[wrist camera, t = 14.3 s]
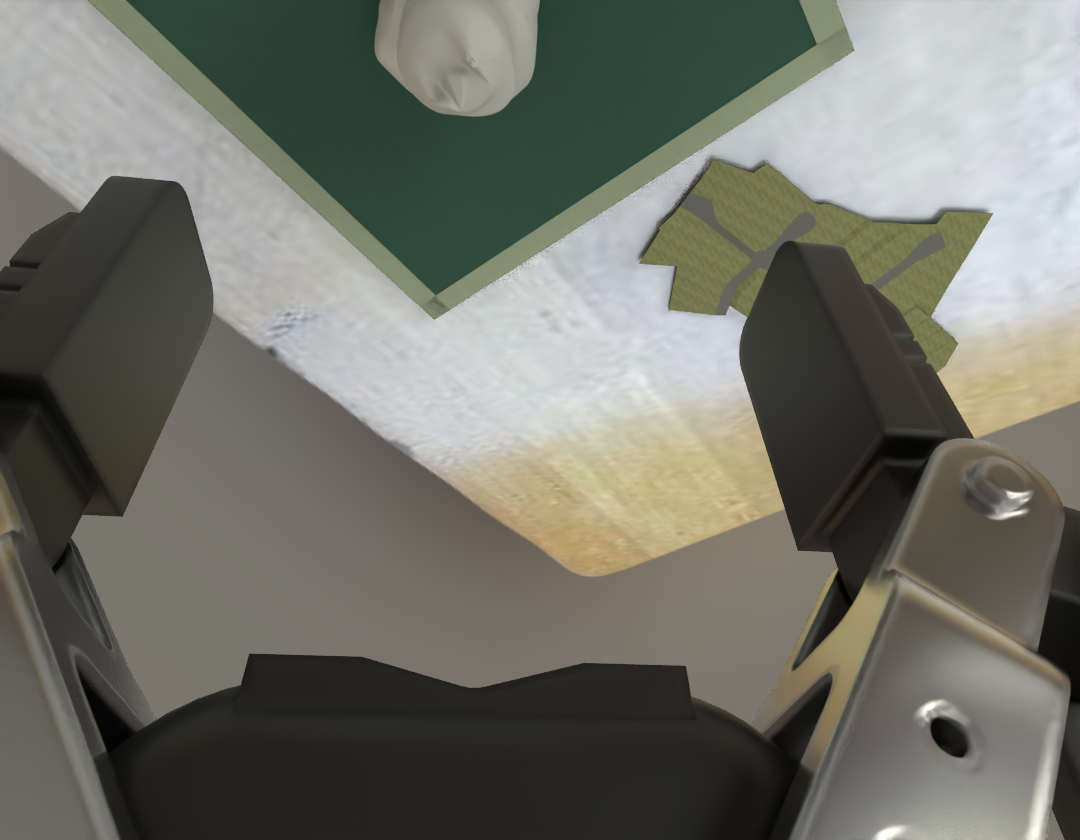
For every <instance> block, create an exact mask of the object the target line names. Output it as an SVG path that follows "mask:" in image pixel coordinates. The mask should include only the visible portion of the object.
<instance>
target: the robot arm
mask: <svg viewBox="0 0 1080 840" xmlns="http://www.w3.org/2000/svg"><path fill="white" fill-rule="evenodd" d="M212 314H213V287H212V282H211V278H210V274H209V271H208V267H207V263H206V260H205V256H204V253H203V249H202V246H201V242H200V238H199V235H198V231H197V228H196V224H195V221H194V217H193V213H192V210H191V206H190V203H189V200H188V197H187V194H186V192H185V190H184V189H183V187H182V186H181V185H180V184H179V183H177V182H174V181H164V180H154V179H143V178H132V177H122V176H111V177H109V178H108V179H107V180H106V181H105V182H104V183H103V185H102V186H101V187H100V188H99V190H98V191H97V192H96V194H95V195H94V196H93V197H92V199H91V200H90V201H89V203H88V204H87V205H86V206H85V208H84V209H83V210H82V212H81V213H74V212H69V213H67V214H65V215H63V216H62V217H60V218H58V219H57V220H55V221H53V222H51V223H50V224H48V225H46V226H45V227H43V228H41V229H39V230H38V231H36V232H34V233H33V234H31V236H30V237H29V238H28V239H27V240H26V242H25V243H24V244H23V245H22V247H21V248H20V249H19V250H18V251H17V252H16V254H15V255H14V256H13V257H12V258H11V260H10V267H6V266H5V267H4V268H3V269H2V270H1V272H0V840H1047V834H1048V828H1049V821H1050V816H1051V810H1053V813H1054V815H1055V817H1056V820H1057V822H1058V824H1059V827H1060V830H1061V832H1062V834H1063V837H1064V839H1065V840H1080V511H1077V510H1074V509H1071V508H1068V507H1065V506H1063V505H1062V502H1061V500H1060V497H1059V496H1058V494H1057V492H1056V491H1055V489H1054V488H1053V486H1052V485H1051V484H1050V483H1049V481H1048V480H1047V479H1046V478H1045V477H1044V476H1043V475H1042V474H1041V473H1040V472H1039V471H1038V470H1037V469H1036V468H1035V467H1033V466H1032V465H1031V464H1030V463H1028V462H1027V461H1025V460H1024V459H1022V458H1021V457H1019V456H1018V455H1016V454H1014V453H1013V452H1011V451H1009V450H1007V449H1005V448H1002V447H1000V446H998V445H995V444H992V443H989V442H986V441H982V440H977V439H974V437H973V435H972V434H971V432H970V430H969V429H968V427H967V425H966V423H965V422H964V420H963V418H962V417H961V415H960V413H959V411H958V410H957V408H956V406H955V405H954V403H953V401H952V399H951V398H950V396H949V394H948V392H947V391H946V389H945V387H944V386H943V384H942V382H941V380H940V379H939V377H938V375H937V374H936V372H935V370H934V368H933V367H932V365H931V364H929V363H926V360H927V356H926V355H925V353H924V351H923V349H922V348H921V346H920V344H919V343H918V341H914V334H913V332H912V331H911V329H910V327H909V325H908V324H907V322H906V320H905V319H904V317H903V315H902V313H901V312H900V310H899V309H898V308H897V307H896V306H895V305H894V304H893V303H892V302H891V301H889V300H888V299H887V298H886V297H885V296H884V295H883V294H882V293H880V292H879V291H878V290H877V289H876V288H875V287H874V286H873V285H872V284H864V282H863V280H862V278H861V276H860V274H859V273H858V271H857V269H856V267H855V265H854V264H853V262H852V260H851V258H850V256H849V255H848V253H847V251H846V250H845V248H843V247H842V246H840V245H832V244H821V243H810V242H800V241H786V242H784V243H783V244H782V245H781V246H780V247H779V249H778V250H777V252H776V254H775V256H774V258H773V260H772V262H771V265H770V267H769V269H768V272H767V274H766V276H765V279H764V281H763V283H762V286H761V288H760V290H759V292H758V295H757V297H756V299H755V302H754V304H753V306H752V309H751V311H750V313H749V316H748V318H747V320H746V322H745V325H744V328H743V331H742V335H741V340H740V350H739V357H740V366H741V370H742V373H743V376H744V379H745V382H746V386H747V389H748V392H749V395H750V398H751V402H752V405H753V408H754V411H755V414H756V418H757V421H758V424H759V427H760V430H761V434H762V437H763V440H764V443H765V446H766V450H767V453H768V456H769V459H770V462H771V465H772V469H773V472H774V475H775V478H776V481H777V485H778V488H779V491H780V494H781V497H782V501H783V504H784V507H785V510H786V513H787V517H788V520H789V523H790V526H791V529H792V533H793V536H794V539H795V542H796V545H797V549H798V551H819V552H833V555H834V558H835V561H836V564H837V567H836V568H835V569H834V571H833V572H832V573H831V574H830V576H829V577H828V579H827V580H826V582H825V584H824V586H823V588H822V590H821V592H820V594H819V596H818V598H817V600H816V603H815V604H814V607H813V609H812V611H811V613H810V615H809V617H808V619H807V621H806V623H805V625H804V627H803V629H802V631H801V633H800V635H799V637H798V639H797V641H796V643H795V645H794V647H793V649H792V652H791V653H790V656H789V657H788V659H787V661H786V663H785V666H784V668H783V670H782V672H781V674H780V676H779V678H778V680H777V682H776V683H775V685H774V687H773V688H772V690H771V692H770V694H769V695H768V697H767V698H766V699H765V701H764V702H763V704H762V705H761V706H760V708H759V709H758V711H757V712H756V714H755V716H754V717H753V719H752V720H751V722H750V723H749V724H748V723H746V722H744V721H743V720H741V719H739V718H737V717H736V716H734V715H732V714H730V713H729V712H727V711H725V710H723V709H721V708H719V707H716V706H714V705H712V704H709V703H707V702H705V701H703V700H700V699H697V698H694V697H691V694H690V688H689V682H688V676H687V670H686V666H668V665H634V664H630V665H629V664H598V663H582V664H578V665H574V666H570V667H566V668H561V669H557V670H553V671H549V672H545V673H541V674H536V675H532V676H529V677H524V678H520V679H516V680H511V681H507V682H503V683H499V684H495V685H491V686H487V687H482V688H467V687H463V686H459V685H456V684H452V683H449V682H445V681H442V680H439V679H435V678H432V677H428V676H425V675H422V674H418V673H415V672H411V671H408V670H405V669H401V668H398V667H395V666H391V665H388V664H384V663H381V662H378V661H374V660H371V659H367V658H363V657H348V656H313V655H277V654H276V655H275V654H249V657H248V661H247V664H246V668H245V672H244V676H243V679H242V684H241V685H240V686H236V687H232V688H228V689H224V690H222V691H219V692H216V693H213V694H210V695H208V696H205V697H202V698H199V699H196V700H194V701H192V702H190V703H188V704H186V705H184V706H182V707H180V708H178V709H175V710H173V711H171V712H169V713H167V714H165V715H164V716H162V717H160V718H159V719H157V718H156V717H155V714H154V712H153V710H152V709H151V707H150V705H149V703H148V701H147V699H146V697H145V696H144V694H143V692H142V691H141V689H140V687H139V686H138V684H137V682H136V680H135V679H134V677H133V675H132V673H131V671H130V669H129V667H128V665H127V662H126V660H125V658H124V656H123V653H122V651H121V649H120V646H119V644H118V642H117V639H116V637H115V635H114V632H113V630H112V627H111V625H110V623H109V620H108V618H107V616H106V613H105V611H104V609H103V606H102V604H101V602H100V599H99V597H98V595H97V592H96V590H95V588H94V585H93V583H92V580H91V578H90V576H89V573H88V571H87V569H86V566H85V564H84V562H83V559H82V557H81V555H80V552H79V550H78V548H77V546H76V545H75V543H74V541H73V540H72V539H71V536H72V534H73V532H74V530H75V528H76V526H77V524H78V522H79V520H80V518H81V516H82V515H100V516H123V514H124V512H125V510H126V508H127V506H128V503H129V501H130V499H131V497H132V495H133V492H134V490H135V488H136V486H137V483H138V481H139V479H140V477H141V475H142V473H143V471H144V468H145V466H146V464H147V462H148V460H149V457H150V455H151V453H152V451H153V449H154V446H155V444H156V442H157V440H158V438H159V436H160V433H161V431H162V429H163V427H164V425H165V422H166V420H167V418H168V416H169V414H170V412H171V409H172V407H173V405H174V403H175V400H176V398H177V396H178V394H179V392H180V390H181V387H182V385H183V383H184V381H185V379H186V376H187V374H188V372H189V370H190V367H191V366H192V363H193V361H194V359H195V357H196V355H197V352H198V350H199V348H200V346H201V344H202V341H203V339H204V337H205V335H206V333H207V331H208V328H209V326H210V322H211V319H212Z"/></svg>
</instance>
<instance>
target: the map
mask: <svg viewBox="0 0 1080 840" xmlns="http://www.w3.org/2000/svg"><path fill="white" fill-rule="evenodd" d="M992 215H993V213H968V212H946V213H945V215H944V216H943V217H942V218H941V219H940V220H939V222H938V223H937V224H903V223H890V222H872V221H870V220H868V219H866V218H864V217H861V216H859V215H856V214H854V213H851V212H849V211H846V210H844V209H841V208H839V207H837V206H834V205H831V204H819V205H817V204H816V203H814V202H813V201H812V200H811V199H809V198H808V197H807V196H806V195H804V194H803V193H802V192H801V191H800V190H799V189H797V188H796V187H795V186H794V185H793V184H792V183H791V182H790V181H788V180H787V179H786V178H785V177H784V176H783V175H781V174H780V173H779V172H778V171H777V170H775V169H774V168H773V167H772V166H770V165H769V164H766V165H765V166H763V167H762V168H760V169H759V170H757V171H755V172H754V173H752V172H749V171H746V170H742V169H739V168H736V167H733V166H730V165H727V164H724V163H721V162H718V161H715V160H713V162H712V163H711V165H710V167H709V169H708V170H707V172H706V173H705V175H704V176H703V177H702V178H701V180H700V181H699V182H698V183H697V185H696V186H695V187H694V188H693V190H692V191H691V192H690V194H689V195H688V196H687V197H686V199H685V200H684V201H683V202H682V204H681V205H680V206H679V208H678V209H677V210H676V212H675V213H674V214H673V215H672V216H671V217H670V218H669V219H668V220H667V221H666V222H665V223H663V224H662V225H661V226H660V227H659V229H660V231H659V233H658V234H657V236H656V238H655V239H654V241H653V242H652V244H651V246H650V247H649V249H648V250H647V252H646V253H645V255H644V257H643V258H642V260H641V261H640V263H639V264H651V265H667V266H677V271H676V275H675V280H674V285H673V290H672V295H671V301H670V306H669V310H675V311H684V312H693V313H702V314H710V315H726V312H727V310H728V307H729V306H731V307H733V308H735V309H736V310H738V311H739V312H741V313H742V314H744V315H745V316H747V317H748V316H749V313H750V311H751V309H752V306H753V304H754V302H755V299H756V297H757V295H758V292H759V290H760V288H761V286H762V283H763V281H764V279H765V276H766V274H767V272H768V269H769V267H770V265H771V262H772V260H773V258H774V256H775V254H776V252H777V250H778V249H779V247H780V246H781V245H782V244H783V243H784V242H786V241H800V242H810V243H821V244H832V245H840V246H842V247H843V248H845V250H846V251H847V253H848V255H849V256H850V258H851V260H852V262H853V264H854V265H855V267H856V269H857V271H858V273H859V274H860V276H861V278H862V280H863V282H864V284H872V285H873V286H874V287H875V288H876V289H877V290H878V291H879V292H880V293H882V294H883V295H884V296H885V297H886V298H887V299H888V300H889V301H891V302H892V303H893V304H894V305H895V306H896V307H897V308H898V309H899V310H900V312H901V313H902V315H903V317H904V319H905V320H906V322H907V324H908V325H909V327H910V329H911V331H912V332H913V334H914V341H918V343H919V344H920V346H921V348H922V349H923V351H924V353H925V355H926V356H927V360H926V363H929V364H931V365H932V367H933V368H934V370H935V372H936V373H937V372H938V371H939V370H941V369H942V368H943V367H944V366H945V365H946V363H947V362H948V360H949V358H950V357H951V355H952V353H953V351H954V350H955V348H956V346H957V345H958V343H957V342H956V341H955V339H954V338H953V337H951V336H950V335H949V334H948V333H947V332H946V331H944V330H943V329H942V328H941V327H940V326H939V325H938V324H937V323H936V322H934V321H933V320H932V319H931V318H930V317H931V315H932V314H933V312H934V310H935V308H936V307H937V305H938V303H939V301H940V300H941V298H942V296H943V294H944V292H945V291H946V289H947V287H948V286H949V284H950V283H951V281H952V279H953V278H954V276H955V275H956V273H957V271H958V270H959V268H960V267H961V265H962V263H963V262H964V260H965V259H966V257H967V255H968V254H969V252H970V251H971V249H972V248H973V246H974V244H975V243H976V241H977V239H978V238H979V236H980V234H981V233H982V231H983V229H984V228H985V226H986V224H987V223H988V221H989V220H990V218H991V216H992ZM917 306H918V307H919V308H918V307H917ZM922 310H923V311H924V312H925V313H926V314H925V313H924V312H923V311H922ZM929 316H930V317H929Z"/></svg>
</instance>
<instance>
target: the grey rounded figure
mask: <svg viewBox="0 0 1080 840" xmlns="http://www.w3.org/2000/svg"><path fill="white" fill-rule="evenodd" d="M539 4H540V0H380V4H379V17H378V23H377V27H376V33H375V54H376V57H377V59H378V61H379V62H380V63H381V64H382V65H383V66H384V67H385V68H386V69H387V70H388V71H389V72H390V73H391V74H392V75H393V76H394V77H395V78H396V79H397V80H398V81H399V82H400V83H401V84H402V85H403V86H404V87H405V88H406V89H407V90H408V91H410V92H411V93H412V94H413V95H414V96H415V97H416V98H417V99H418V100H419V101H420V102H422V103H423V104H424V105H425V106H427V107H428V108H430V109H431V110H434V111H436V112H438V113H442V114H450V115H461V116H473V117H476V116H487V115H491V114H494V113H497V112H499V111H501V110H502V109H503V108H504V107H506V106H507V104H508V103H509V102H510V100H511V99H512V98H514V97H515V96H516V95H517V94H518V93H520V92H521V91H522V90H523V89H524V88H525V87H526V86H527V85H528V83H529V82H530V80H531V78H532V75H533V72H534V67H535V57H536V45H537V27H538V22H537V15H538V10H539Z"/></svg>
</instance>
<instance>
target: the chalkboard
mask: <svg viewBox="0 0 1080 840" xmlns="http://www.w3.org/2000/svg"><path fill="white" fill-rule="evenodd" d="M88 1H89V2H90V3H91V4H92V5H93V6H94V7H95V8H96V9H97V10H98V11H99V12H101V13H102V14H103V15H104V16H105V17H106V18H107V19H108V20H109V21H110V22H111V23H113V24H114V25H115V26H116V27H117V28H118V29H119V30H120V31H121V32H122V33H123V34H124V35H126V36H127V37H128V38H129V39H130V40H131V41H132V42H133V43H134V44H135V45H136V46H137V47H139V48H140V49H141V50H142V51H143V52H144V53H145V54H146V55H147V56H148V57H149V58H151V59H152V60H153V61H154V62H155V63H156V64H157V65H158V66H159V67H160V68H161V69H162V70H164V71H165V72H166V73H167V74H168V75H169V76H170V77H171V78H172V79H173V80H174V81H175V82H177V83H178V84H179V85H180V86H181V87H182V88H183V89H184V90H185V91H186V92H187V93H189V94H190V95H191V96H192V97H193V98H194V99H195V100H196V101H197V102H198V103H199V104H200V105H202V106H203V107H204V108H205V109H206V110H207V111H208V112H209V113H210V114H211V115H212V116H214V117H215V118H216V119H217V120H218V121H219V122H220V123H221V124H222V125H223V126H224V127H225V128H227V129H228V130H229V131H230V132H231V133H232V134H233V135H234V136H235V137H236V138H237V139H238V140H240V141H241V142H242V143H243V144H244V145H245V146H246V147H247V148H248V149H249V150H250V151H252V152H253V153H254V154H255V155H256V156H257V157H258V158H259V159H260V160H261V161H262V162H263V163H265V164H266V165H267V166H268V167H269V168H270V169H271V170H272V171H273V172H274V173H275V174H276V175H278V176H279V177H280V178H281V179H282V180H283V181H284V182H285V183H286V184H287V185H288V186H290V187H291V188H292V189H293V190H294V191H295V192H296V193H297V194H298V195H299V196H300V197H301V198H303V199H304V200H305V201H306V202H307V203H308V204H309V205H310V206H311V207H312V208H313V209H314V210H316V211H317V212H318V213H319V214H320V215H321V216H322V217H323V218H324V219H325V220H326V221H328V222H329V223H330V224H331V225H332V226H333V227H334V228H335V229H336V230H337V231H338V232H339V233H341V234H342V235H343V236H344V237H345V238H346V239H347V240H348V241H349V242H350V243H351V244H353V245H354V246H355V247H356V248H357V249H358V250H359V251H360V252H361V253H362V254H363V255H364V256H366V257H367V258H368V259H369V260H370V261H371V262H372V263H373V264H374V265H375V266H376V267H377V268H379V269H380V270H381V271H382V272H383V273H384V274H385V275H386V276H387V277H388V278H389V279H391V280H392V281H393V282H394V283H395V284H396V285H397V286H398V287H399V288H400V289H401V290H402V291H404V292H405V293H406V294H407V295H408V296H409V297H410V298H411V299H412V300H413V301H414V302H415V303H417V304H418V305H419V306H420V307H421V308H422V309H423V310H424V311H425V312H426V313H427V314H429V315H430V316H431V317H432V318H433V319H436V318H438V317H439V316H441V315H442V314H444V313H445V312H447V311H449V310H450V309H452V308H453V307H455V306H456V305H458V304H459V303H461V302H463V301H464V300H466V299H467V298H469V297H470V296H472V295H474V294H475V293H477V292H478V291H480V290H481V289H483V288H484V287H486V286H488V285H489V284H491V283H492V282H494V281H495V280H497V279H499V278H500V277H502V276H503V275H505V274H506V273H508V272H509V271H511V270H513V269H514V268H516V267H517V266H519V265H520V264H522V263H523V262H525V261H527V260H528V259H530V258H531V257H533V256H534V255H536V254H538V253H539V252H541V251H542V250H544V249H545V248H547V247H548V246H550V245H552V244H553V243H555V242H556V241H558V240H559V239H561V238H563V237H564V236H566V235H567V234H569V233H570V232H572V231H573V230H575V229H577V228H578V227H580V226H581V225H583V224H584V223H586V222H588V221H589V220H591V219H592V218H594V217H595V216H597V215H598V214H600V213H602V212H603V211H605V210H606V209H608V208H609V207H611V206H613V205H614V204H616V203H617V202H619V201H620V200H622V199H623V198H625V197H627V196H628V195H630V194H631V193H633V192H634V191H636V190H638V189H639V188H641V187H642V186H644V185H645V184H647V183H648V182H650V181H652V180H653V179H655V178H656V177H658V176H659V175H661V174H662V173H664V172H666V171H667V170H669V169H670V168H672V167H673V166H675V165H677V164H678V163H680V162H681V161H683V160H684V159H686V158H687V157H689V156H691V155H692V154H694V153H695V152H697V151H698V150H700V149H702V148H703V147H705V146H706V145H708V144H709V143H711V142H712V141H714V140H716V139H717V138H719V137H720V136H722V135H723V134H725V133H727V132H728V131H730V130H731V129H733V128H734V127H736V126H737V125H739V124H741V123H742V122H744V121H745V120H747V119H748V118H750V117H752V116H753V115H755V114H756V113H758V112H759V111H761V110H762V109H764V108H766V107H767V106H769V105H770V104H772V103H773V102H775V101H777V100H778V99H780V98H781V97H783V96H784V95H786V94H787V93H789V92H791V91H792V90H794V89H795V88H797V87H798V86H800V85H801V84H803V83H805V82H806V81H808V80H809V79H811V78H812V77H814V76H816V75H817V74H819V73H820V72H822V71H823V70H825V69H826V68H828V67H830V66H831V65H833V64H834V63H836V62H837V61H839V60H841V59H842V58H844V57H845V56H847V55H848V54H850V53H851V52H853V51H854V48H853V46H852V43H851V40H850V38H849V35H848V32H847V29H846V27H845V24H844V21H843V19H842V16H841V13H840V10H839V8H838V5H837V2H836V0H540V4H539V10H538V15H537V22H538V27H537V45H536V57H535V67H534V72H533V75H532V78H531V80H530V82H529V83H528V85H527V86H526V87H525V88H524V89H523V90H522V91H521V92H520V93H518V94H517V95H516V96H515V97H514V98H512V99H511V100H510V102H509V103H508V104H507V106H506V107H504V108H503V109H502V110H501V111H499V112H497V113H494V114H491V115H487V116H476V117H473V116H461V115H450V114H442V113H438V112H436V111H434V110H431V109H430V108H428V107H427V106H425V105H424V104H423V103H422V102H420V101H419V100H418V99H417V98H416V97H415V96H414V95H413V94H412V93H411V92H410V91H408V90H407V89H406V88H405V87H404V86H403V85H402V84H401V83H400V82H399V81H398V80H397V79H396V78H395V77H394V76H393V75H392V74H391V73H390V72H389V71H388V70H387V69H386V68H385V67H384V66H383V65H382V64H381V63H380V62H379V61H378V59H377V57H376V54H375V33H376V27H377V23H378V17H379V4H380V0H88Z"/></svg>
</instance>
